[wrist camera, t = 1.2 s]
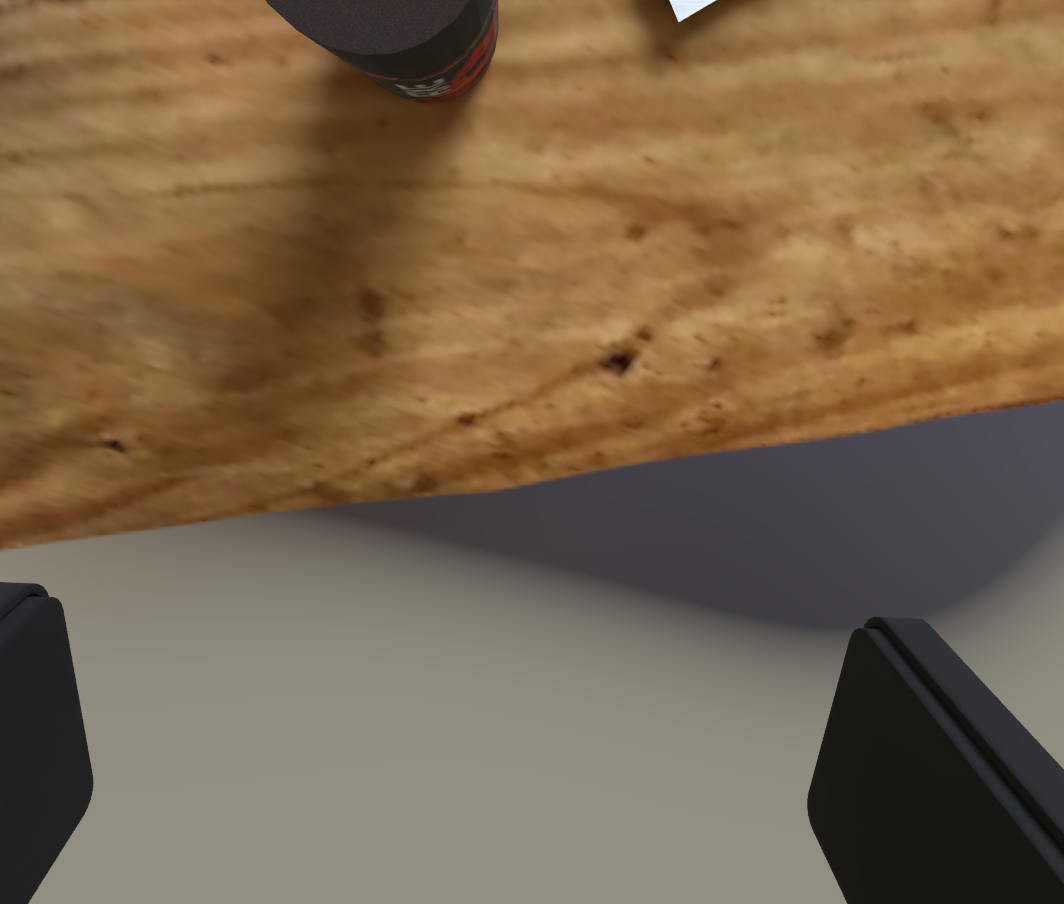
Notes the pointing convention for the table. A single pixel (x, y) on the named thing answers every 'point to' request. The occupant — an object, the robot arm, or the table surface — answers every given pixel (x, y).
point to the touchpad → (687, 7)
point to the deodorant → (404, 40)
